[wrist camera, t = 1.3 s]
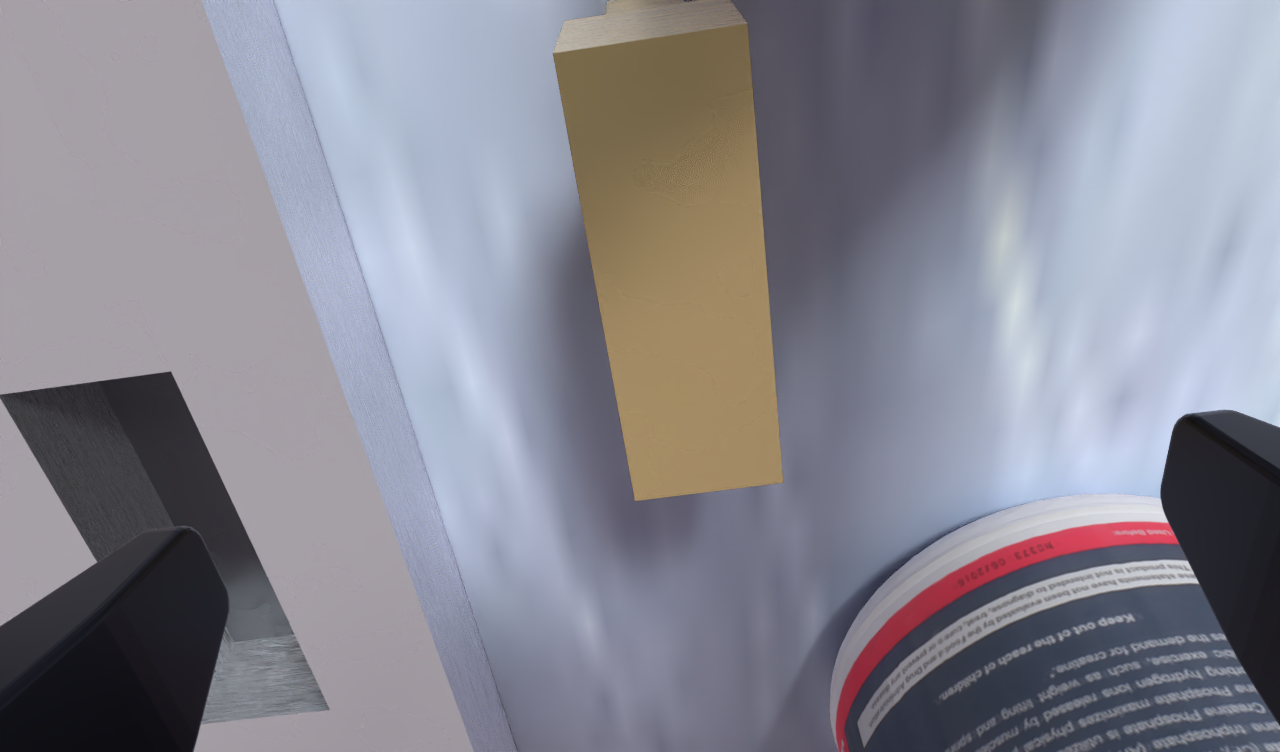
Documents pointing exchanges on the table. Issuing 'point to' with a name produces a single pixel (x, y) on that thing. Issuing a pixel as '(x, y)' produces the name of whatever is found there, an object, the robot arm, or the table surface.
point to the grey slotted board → (217, 377)
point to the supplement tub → (1047, 643)
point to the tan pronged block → (676, 238)
